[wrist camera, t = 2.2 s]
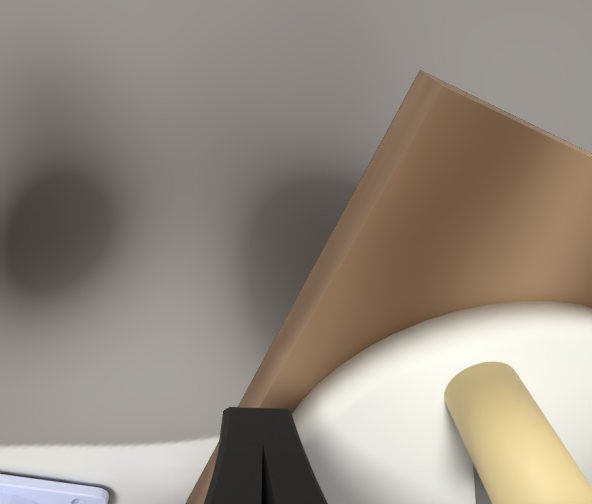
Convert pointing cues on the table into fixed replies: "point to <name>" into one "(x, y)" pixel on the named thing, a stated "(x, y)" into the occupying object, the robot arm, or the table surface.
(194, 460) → the table surface
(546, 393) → the dial
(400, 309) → the brown flat wooden board
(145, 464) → the table surface
